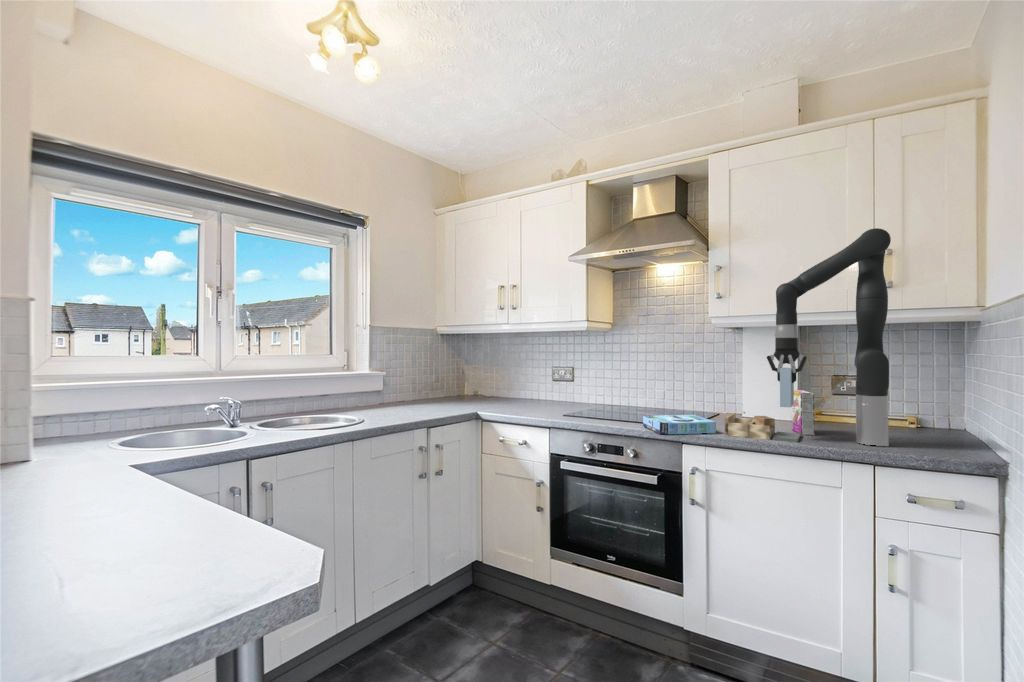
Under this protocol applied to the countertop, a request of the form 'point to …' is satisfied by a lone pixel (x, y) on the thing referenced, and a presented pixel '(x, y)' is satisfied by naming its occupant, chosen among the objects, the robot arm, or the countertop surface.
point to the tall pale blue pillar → (786, 388)
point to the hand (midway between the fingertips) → (786, 382)
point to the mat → (787, 436)
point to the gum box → (679, 424)
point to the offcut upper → (764, 421)
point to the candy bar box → (803, 412)
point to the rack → (746, 428)
